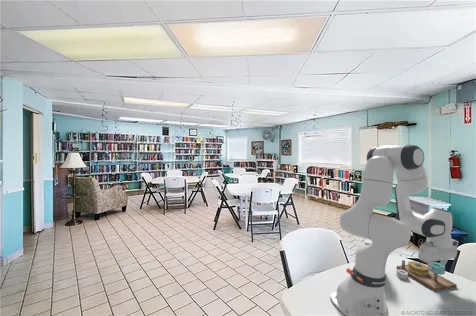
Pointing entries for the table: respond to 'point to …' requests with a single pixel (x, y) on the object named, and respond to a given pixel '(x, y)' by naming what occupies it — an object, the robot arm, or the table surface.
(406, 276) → the grey gear
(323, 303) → the table surface
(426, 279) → the gear board
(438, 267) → the teal gear
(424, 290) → the table surface
